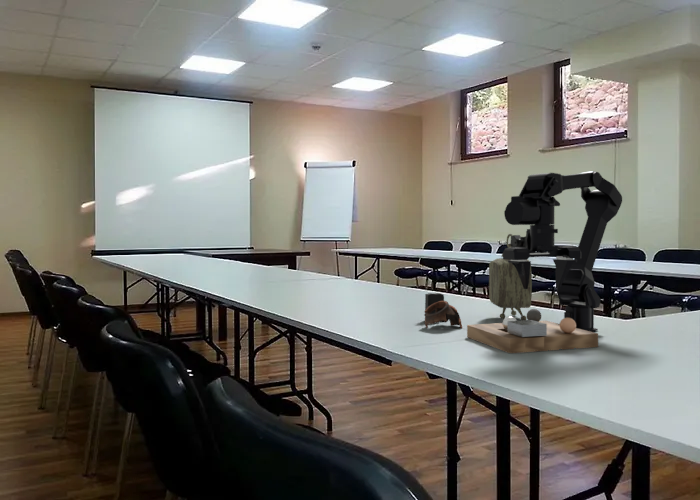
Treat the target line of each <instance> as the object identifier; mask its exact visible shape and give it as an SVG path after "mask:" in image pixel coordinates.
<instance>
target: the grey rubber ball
mask: <svg viewBox="0 0 700 500" xmlns="http://www.w3.org/2000/svg"><path fill="white" fill-rule="evenodd" d="M541 319H542V313H541V311H540V310H539V309H536V308H531V309H528V311H527V313H526V320H533V321H537V322H539V321H542V320H541Z"/></svg>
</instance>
